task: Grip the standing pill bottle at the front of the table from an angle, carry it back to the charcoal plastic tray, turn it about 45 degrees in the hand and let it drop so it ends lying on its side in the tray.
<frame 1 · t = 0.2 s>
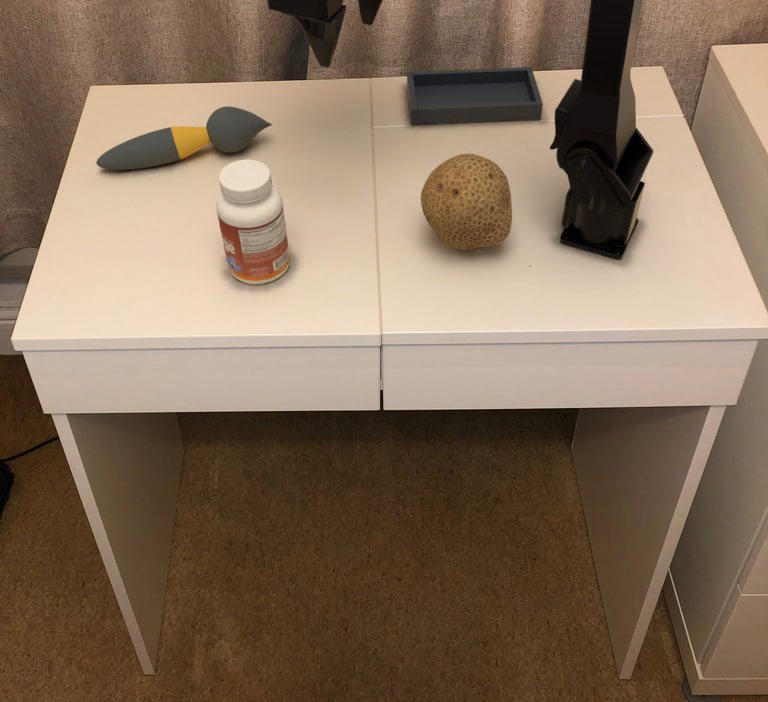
hand: (346, 44, 87), 15 cm above the table, tool pointing down, fingers open, 9 cm apart
pill bottle: (260, 266, 87), on the table
paintbrush: (188, 160, 99), on the table
tray: (472, 103, 106), on the table
natural sponge: (463, 242, 89), on the table
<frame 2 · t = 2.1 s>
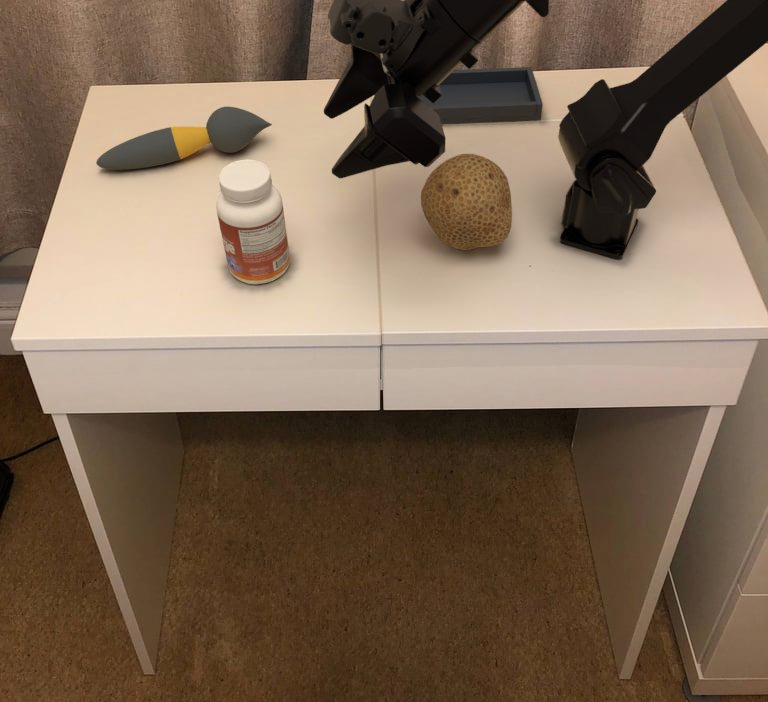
hand: (331, 143, 77), 13 cm above the table, tool tilted 45°, fingers open, 9 cm apart
nothing on the table moved.
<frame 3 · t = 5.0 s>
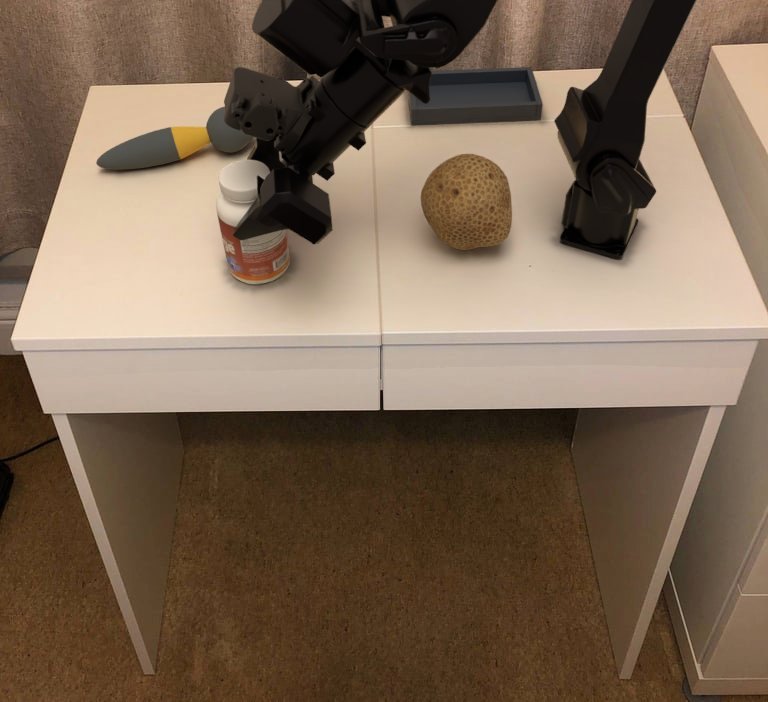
hand: (236, 214, 82), 7 cm above the table, tool tilted 45°, fingers closed on pill bottle, 6 cm apart
pill bottle: (259, 267, 87), on the table, touching gripper
everything else where it was.
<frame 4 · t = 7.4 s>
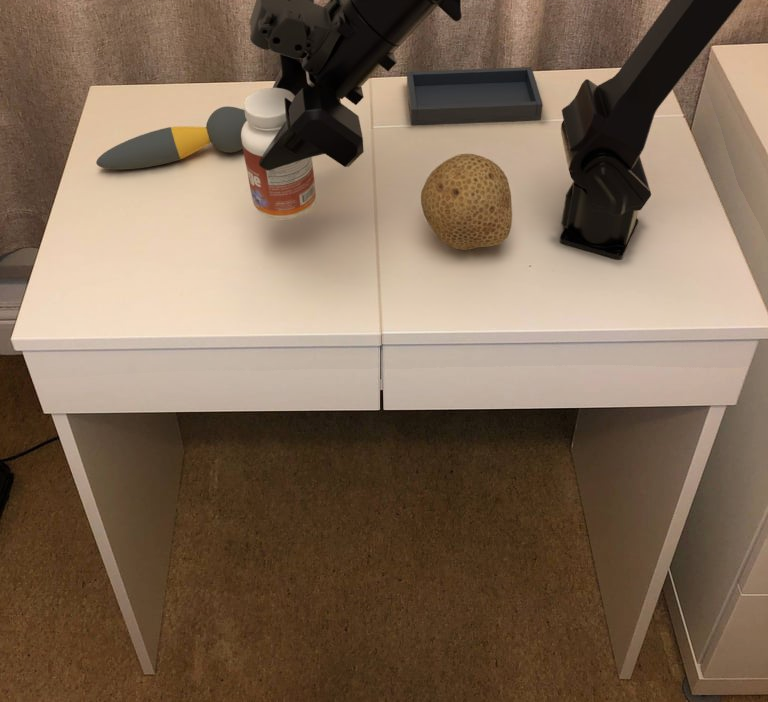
hand: (261, 145, 80), 12 cm above the table, tool tilted 45°, fingers closed on pill bottle, 6 cm apart
pill bottle: (285, 203, 85), point 5 cm above the table, touching gripper
everything else where it was.
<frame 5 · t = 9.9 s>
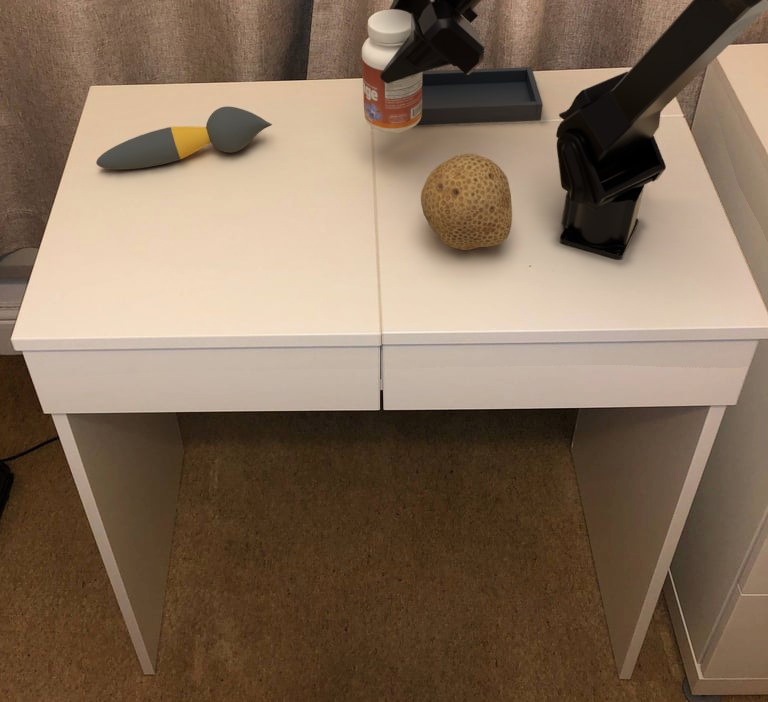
hand: (379, 63, 88), 13 cm above the table, tool tilted 45°, fingers closed on pill bottle, 6 cm apart
pill bottle: (393, 120, 93), point 6 cm above the table, touching gripper
everything else where it was.
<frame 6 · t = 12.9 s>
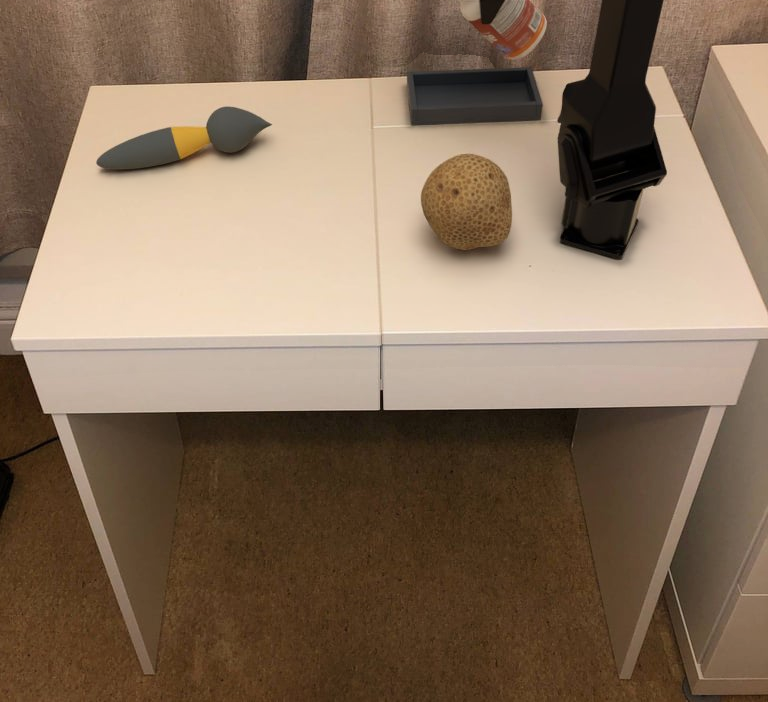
hand: (480, 9, 97), 12 cm above the table, tool pointing down, fingers closed on pill bottle, 6 cm apart
pill bottle: (528, 39, 100), point 8 cm above the table, touching gripper
everything else where it was.
when the fingers open (7 cm above the table, at t = 14.9 s): pill bottle moves 2 cm, resting on tray.
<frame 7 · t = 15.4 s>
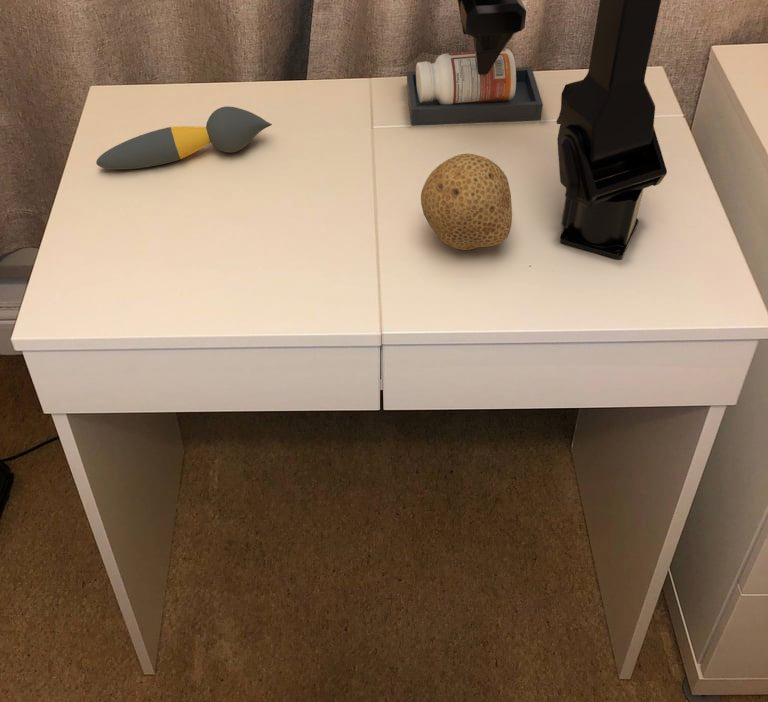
hand: (475, 53, 101), 7 cm above the table, tool pointing down, fingers open, 9 cm apart
pill bottle: (513, 75, 103), point 4 cm above the table, touching tray
everything else where it was.
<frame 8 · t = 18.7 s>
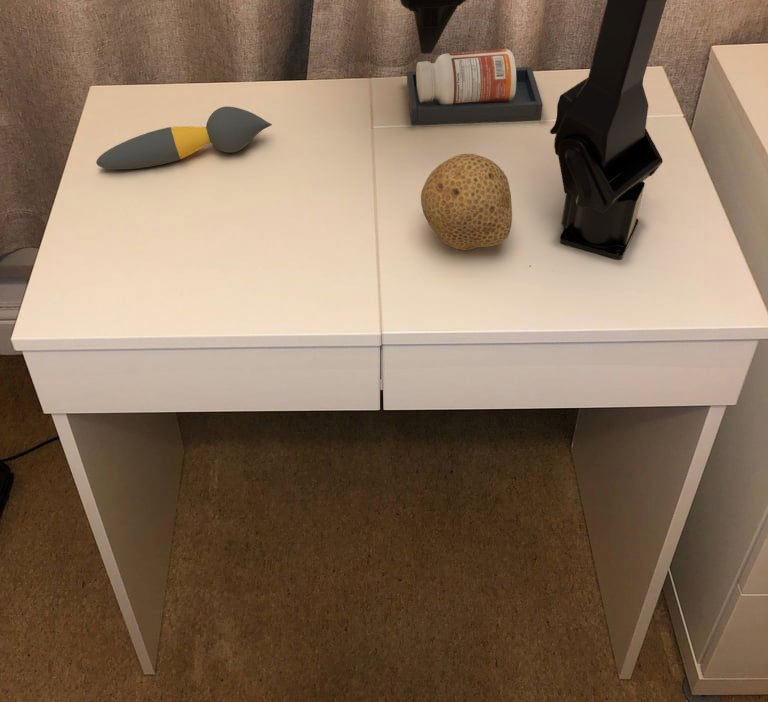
hand: (419, 30, 92), 13 cm above the table, tool pointing down, fingers open, 9 cm apart
nothing on the table moved.
at the end: pill bottle tilted 90°; pill bottle inside the target area on the tray (4.7 cm from its centre), point 3.7 cm above the tray's base; the gripper is holding nothing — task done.
